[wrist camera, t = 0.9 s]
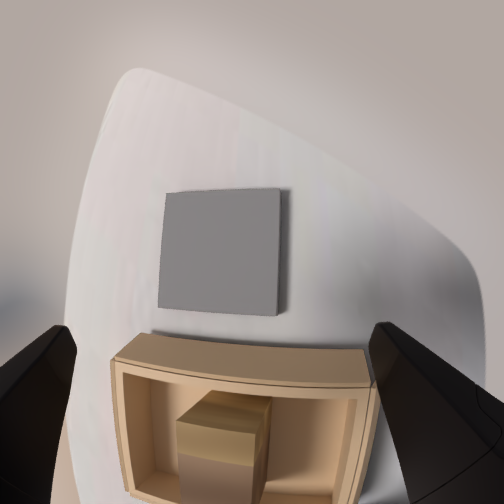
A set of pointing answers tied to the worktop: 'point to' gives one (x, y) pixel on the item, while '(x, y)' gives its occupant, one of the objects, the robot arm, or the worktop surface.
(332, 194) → the worktop surface
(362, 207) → the worktop surface
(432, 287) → the worktop surface
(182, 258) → the mat
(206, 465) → the block
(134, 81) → the worktop surface
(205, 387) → the carton
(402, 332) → the robot arm
